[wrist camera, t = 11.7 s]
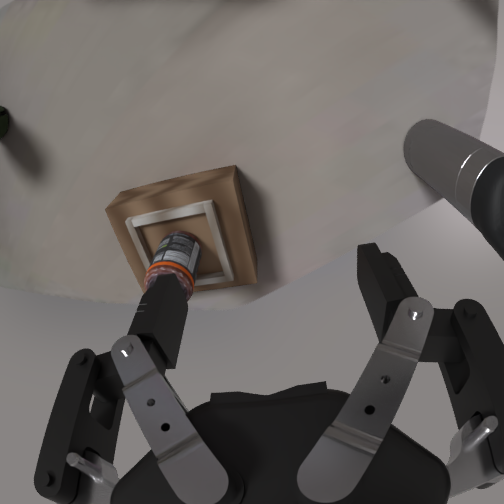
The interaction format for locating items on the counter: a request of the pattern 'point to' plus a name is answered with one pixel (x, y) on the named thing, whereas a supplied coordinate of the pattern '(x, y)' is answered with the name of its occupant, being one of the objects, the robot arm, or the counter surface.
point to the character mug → (3, 123)
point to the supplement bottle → (176, 260)
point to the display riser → (189, 225)
